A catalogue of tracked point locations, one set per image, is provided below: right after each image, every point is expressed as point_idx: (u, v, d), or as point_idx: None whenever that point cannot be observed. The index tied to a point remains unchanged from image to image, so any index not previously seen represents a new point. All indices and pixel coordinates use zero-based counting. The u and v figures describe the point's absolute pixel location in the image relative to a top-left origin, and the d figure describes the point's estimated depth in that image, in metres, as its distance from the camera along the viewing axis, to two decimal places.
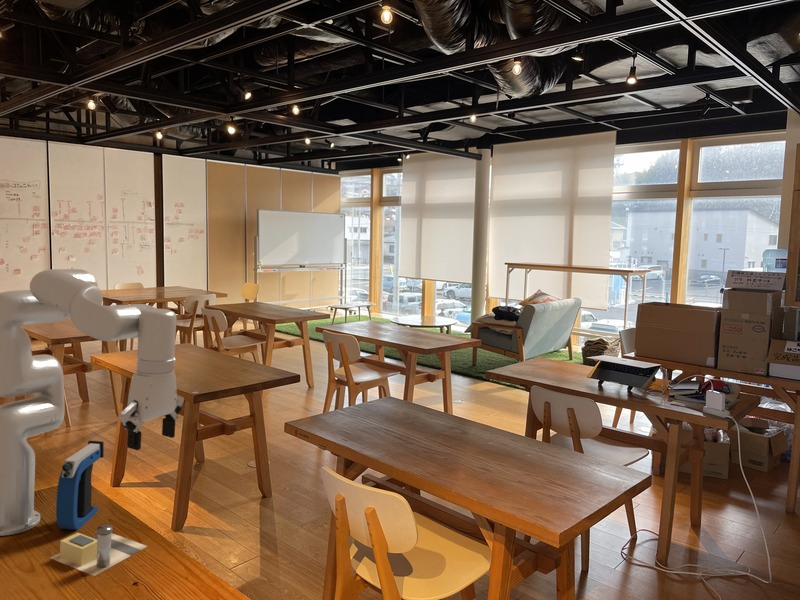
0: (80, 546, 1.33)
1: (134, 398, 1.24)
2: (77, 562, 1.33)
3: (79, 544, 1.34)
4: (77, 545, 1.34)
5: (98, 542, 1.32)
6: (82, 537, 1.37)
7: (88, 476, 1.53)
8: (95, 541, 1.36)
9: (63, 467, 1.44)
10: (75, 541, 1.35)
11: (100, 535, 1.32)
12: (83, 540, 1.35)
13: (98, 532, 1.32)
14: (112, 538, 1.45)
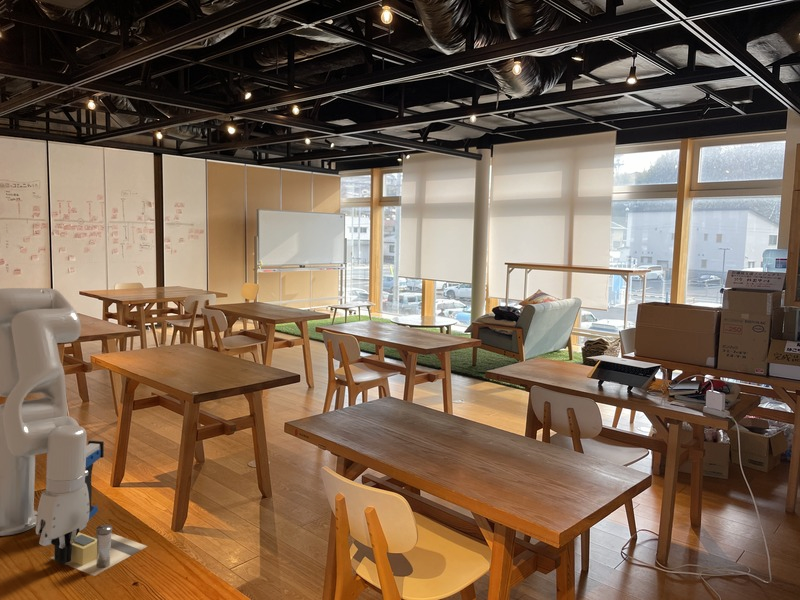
0: (81, 546, 1.34)
1: (42, 518, 1.27)
2: (78, 562, 1.33)
3: (80, 544, 1.34)
4: (78, 545, 1.34)
5: (98, 542, 1.32)
6: (83, 537, 1.37)
7: (88, 476, 1.53)
8: (96, 541, 1.36)
9: None
10: (76, 541, 1.35)
11: (100, 535, 1.32)
12: (84, 540, 1.36)
13: (98, 532, 1.32)
14: (112, 538, 1.45)
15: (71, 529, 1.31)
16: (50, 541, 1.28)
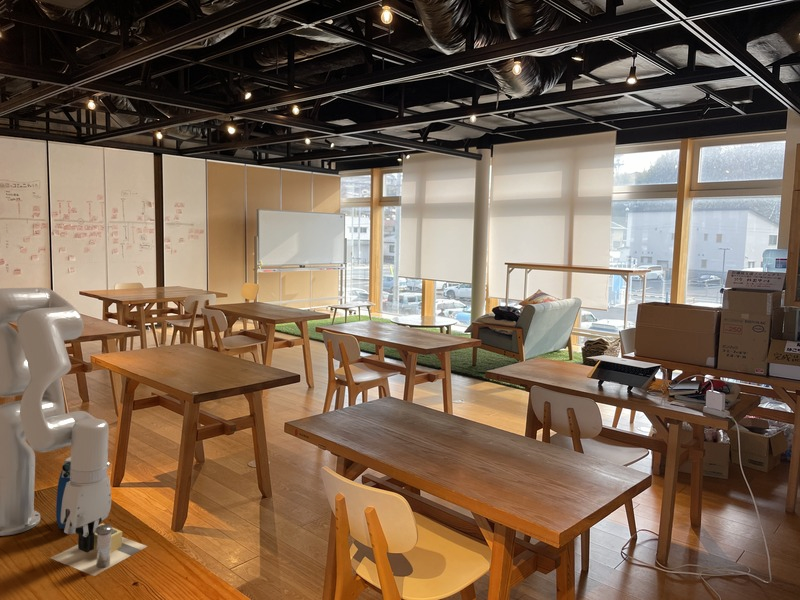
0: None
1: (67, 507, 1.32)
2: None
3: None
4: None
5: (98, 542, 1.32)
6: None
7: None
8: (118, 532, 1.41)
9: (63, 467, 1.44)
10: None
11: (100, 535, 1.32)
12: None
13: (98, 532, 1.32)
14: None
15: (94, 518, 1.36)
16: (74, 530, 1.33)
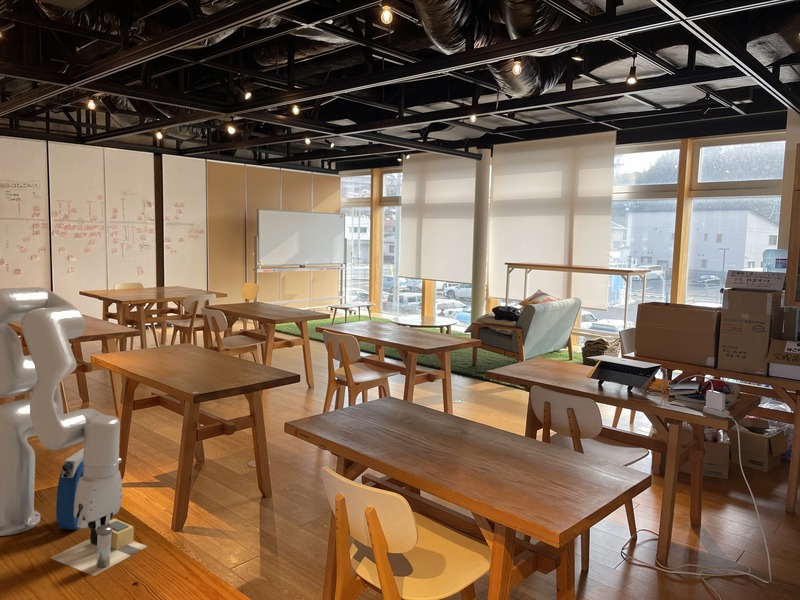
0: (116, 531, 1.41)
1: (80, 502, 1.35)
2: (113, 546, 1.41)
3: (115, 529, 1.42)
4: (113, 530, 1.42)
5: (98, 542, 1.32)
6: (118, 523, 1.45)
7: None
8: (130, 527, 1.44)
9: (63, 467, 1.44)
10: (112, 526, 1.43)
11: (100, 535, 1.32)
12: (119, 525, 1.43)
13: (98, 532, 1.32)
14: None
15: (106, 513, 1.39)
16: (87, 524, 1.36)
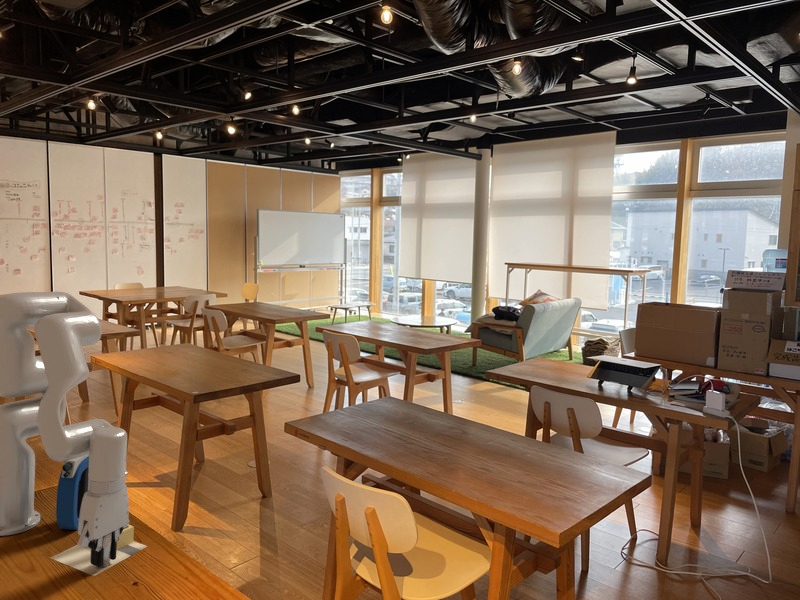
0: None
1: (85, 519, 1.28)
2: None
3: None
4: None
5: None
6: None
7: None
8: (130, 527, 1.44)
9: (63, 467, 1.44)
10: None
11: None
12: None
13: None
14: None
15: (112, 529, 1.33)
16: (88, 543, 1.29)
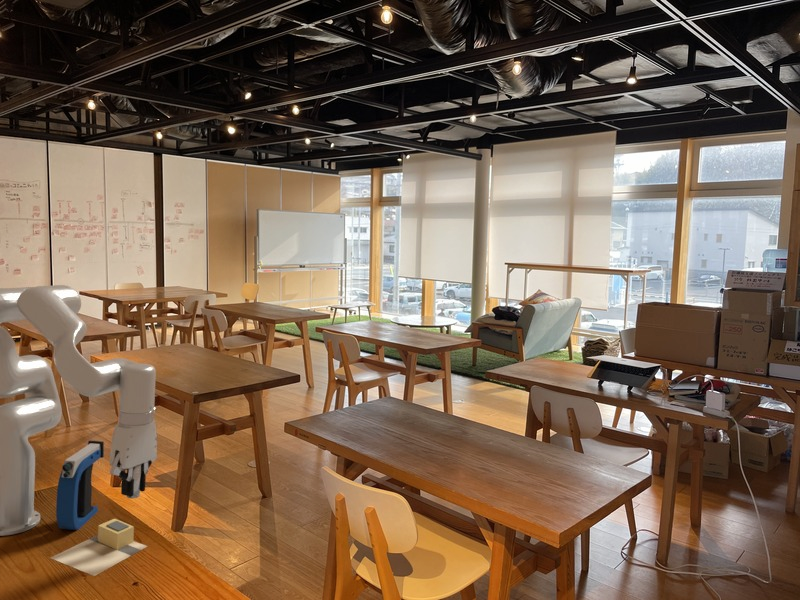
0: (116, 531, 1.41)
1: (116, 449, 1.34)
2: (113, 546, 1.41)
3: (115, 529, 1.42)
4: (113, 530, 1.42)
5: None
6: (118, 523, 1.45)
7: (88, 476, 1.53)
8: (130, 527, 1.44)
9: (63, 467, 1.44)
10: (112, 526, 1.43)
11: None
12: (119, 525, 1.43)
13: None
14: None
15: (142, 461, 1.38)
16: (119, 472, 1.34)
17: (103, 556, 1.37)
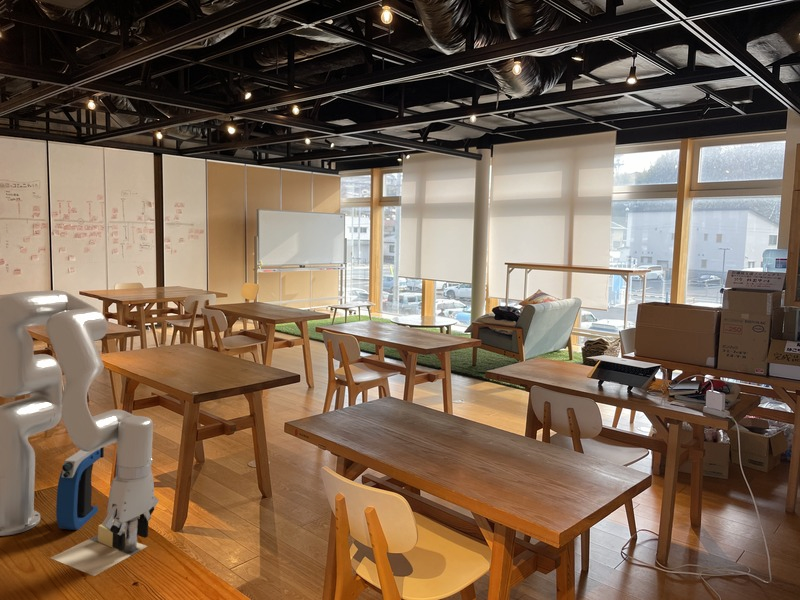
0: None
1: (114, 502, 1.35)
2: None
3: None
4: None
5: (126, 528, 1.39)
6: (118, 523, 1.45)
7: (88, 476, 1.53)
8: None
9: (63, 467, 1.44)
10: None
11: (128, 522, 1.39)
12: (119, 525, 1.43)
13: None
14: None
15: (139, 513, 1.39)
16: (111, 526, 1.34)
17: (103, 556, 1.37)
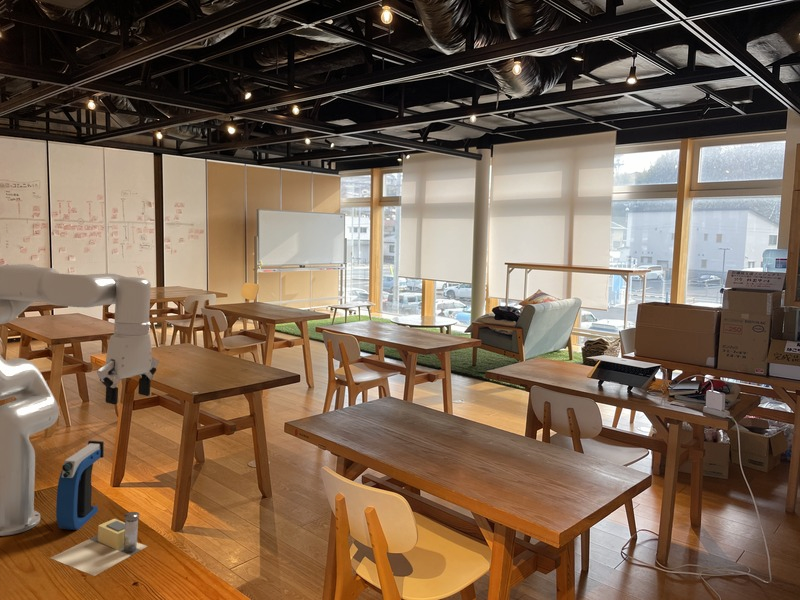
0: (116, 531, 1.41)
1: (112, 358, 1.37)
2: (113, 546, 1.41)
3: (115, 529, 1.42)
4: (113, 530, 1.42)
5: (126, 528, 1.39)
6: (118, 523, 1.45)
7: (88, 476, 1.53)
8: None
9: (63, 467, 1.44)
10: (112, 526, 1.43)
11: (128, 522, 1.39)
12: (119, 525, 1.43)
13: (126, 519, 1.39)
14: None
15: (136, 373, 1.41)
16: (105, 376, 1.35)
17: (103, 556, 1.37)
